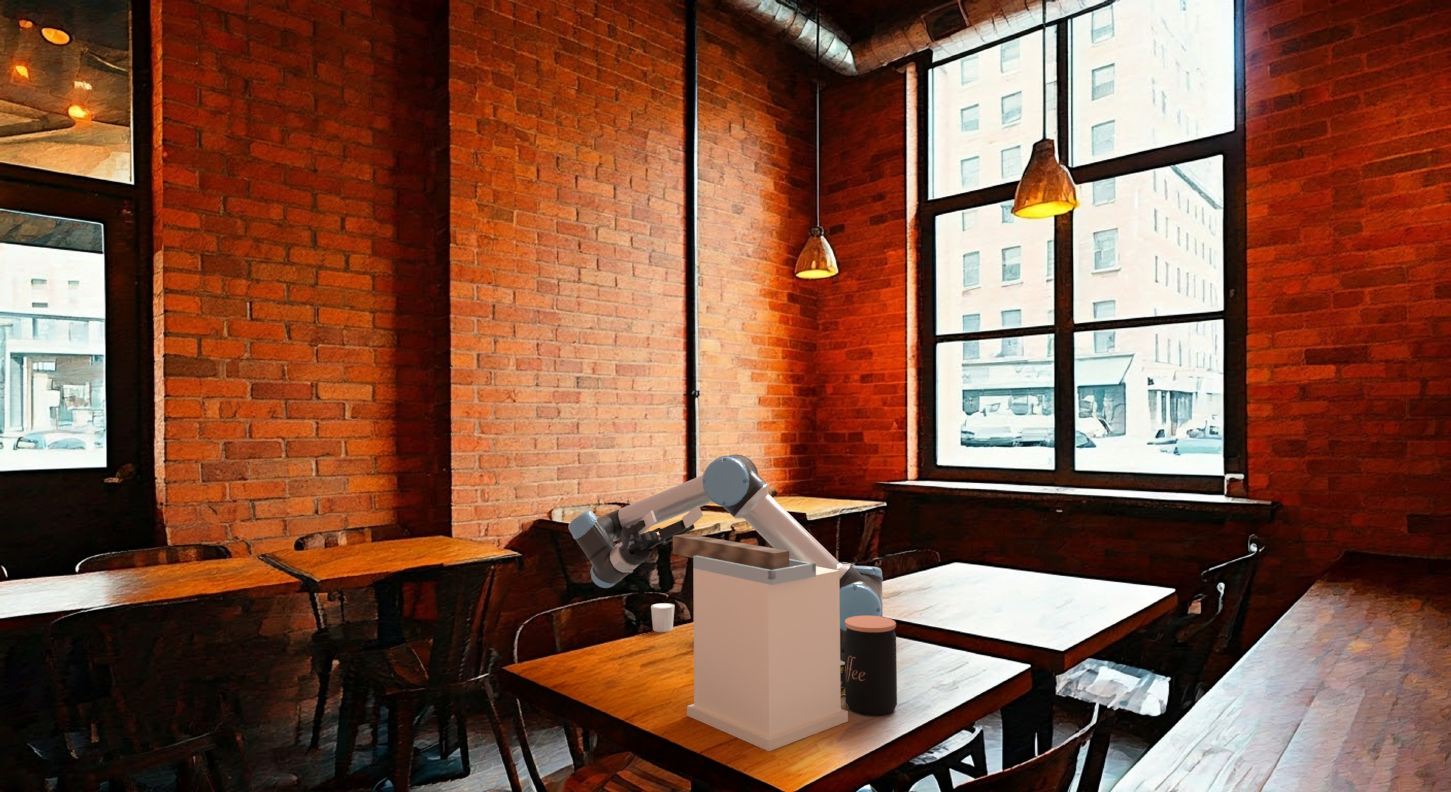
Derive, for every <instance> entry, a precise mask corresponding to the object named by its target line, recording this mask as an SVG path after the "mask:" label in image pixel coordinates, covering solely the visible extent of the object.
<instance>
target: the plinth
mask: <svg viewBox="0 0 1451 792" xmlns="http://www.w3.org/2000/svg"><path fill="white" fill-rule="evenodd" d="M692 569H693V571H692V572H693V577H692V578H693V703H692V704H689V705H687V707H686V713H687V714H686V717H689V718H692V719H694V720H696V721H698V722H701V723H704V724H706V725H707V726H710V727H712V728H714V729H717V730H719V731H721V732H724V733H726V734H728V735H730V736H733V737H735V738H736V739H737V738H738V739H740V740H741V741H744V742H747V743H749V744H751V745H753V746H756V747H757V748H760V749H762V750H764V751H767V752H771V751H774V750H777V749H779V748H781V747H784V746H787V745H789V744H793V743H794V742H795V743H796V742H797V741H800V740H802V739H803V740H804V739H806V738H808V737H812V736H813V735H816V734H819V733H821V732H824V731H826V730H830V729H832V728H834V727H837V726H840V725H841V724H842V725H843V724H844V723H845V724H846V723H847V722H849V711H848V710H846V709H842V707H841V702H842V700H841V697H842V696H841V687H840V585H839V570H833V569H828V568H822V567H817V566H816V577H811V578H806V579H800V580H795V581H790V582H785V583H780V584H775V585H769V584H764V583H760V582H755V581H751V580H746V579H741V578H737V577H732V576H727V575H723V574H718V573H713V572H709V571H704V570H699V569H695V568H692Z"/></svg>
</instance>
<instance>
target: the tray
mask: <svg viewBox="0 0 1451 792" xmlns="http://www.w3.org/2000/svg"><path fill="white" fill-rule="evenodd" d="M692 561H693V564H692V565H693V566H692V567H693V568H695V569H699V570H704V571H709V572H713V573H718V574H723V575H727V576H732V577H737V578H741V579H746V580H751V581H755V582H760V583H764V584H769V585H775V584H780V583H785V582H790V581H795V580H800V579H806V578H811V577H816V563H810V562H804V561H799V560H793V559H789V567H786V568H780V569H774V570H769V569H764V568H759V567H754V566H749V565H744V564H738V563H733V562H728V561H723V560H718V559H713V558H708V557H702V556H693V558H692ZM693 568H692V569H693Z"/></svg>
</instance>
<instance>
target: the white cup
mask: <svg viewBox="0 0 1451 792" xmlns="http://www.w3.org/2000/svg"><path fill="white" fill-rule="evenodd" d="M650 610H651V621H652V630H653V631H654V632H656V633H669V632H671V631H673V629H674V628H673V627H674V619H675V618H674V617H675V616H674V615H675V604H674V603H667V602H664V603H663V602H662V603H661V602H660V603H655V604H651V606H650Z"/></svg>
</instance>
